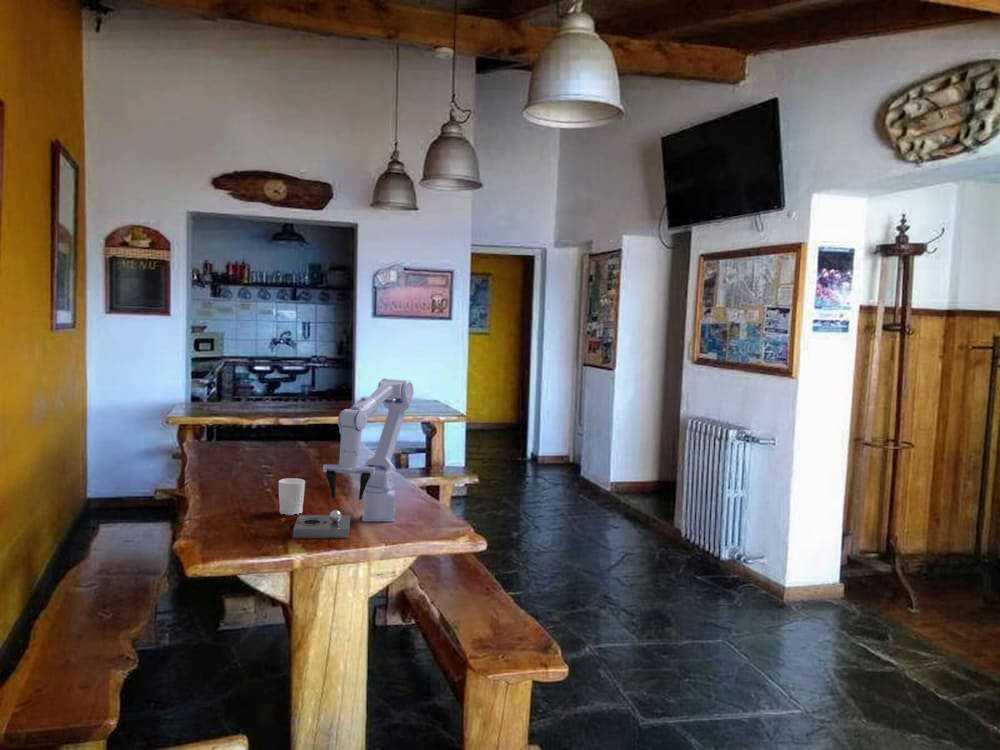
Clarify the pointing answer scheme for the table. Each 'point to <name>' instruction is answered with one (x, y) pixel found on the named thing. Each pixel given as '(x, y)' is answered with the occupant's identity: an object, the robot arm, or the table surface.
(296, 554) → the table surface
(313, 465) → the table surface
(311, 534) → the hole plate
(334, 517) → the steel ball
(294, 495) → the white cup
